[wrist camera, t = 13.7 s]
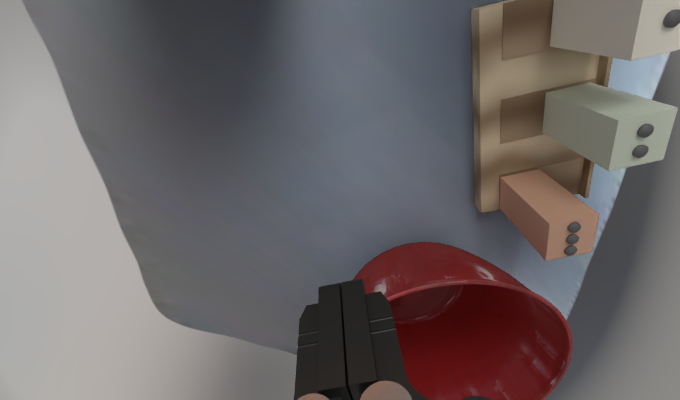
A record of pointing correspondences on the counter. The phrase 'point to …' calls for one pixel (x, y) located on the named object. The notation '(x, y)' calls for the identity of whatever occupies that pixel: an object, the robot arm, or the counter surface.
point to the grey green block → (608, 125)
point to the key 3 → (548, 214)
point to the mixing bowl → (469, 325)
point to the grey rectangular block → (616, 27)
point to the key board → (523, 97)
